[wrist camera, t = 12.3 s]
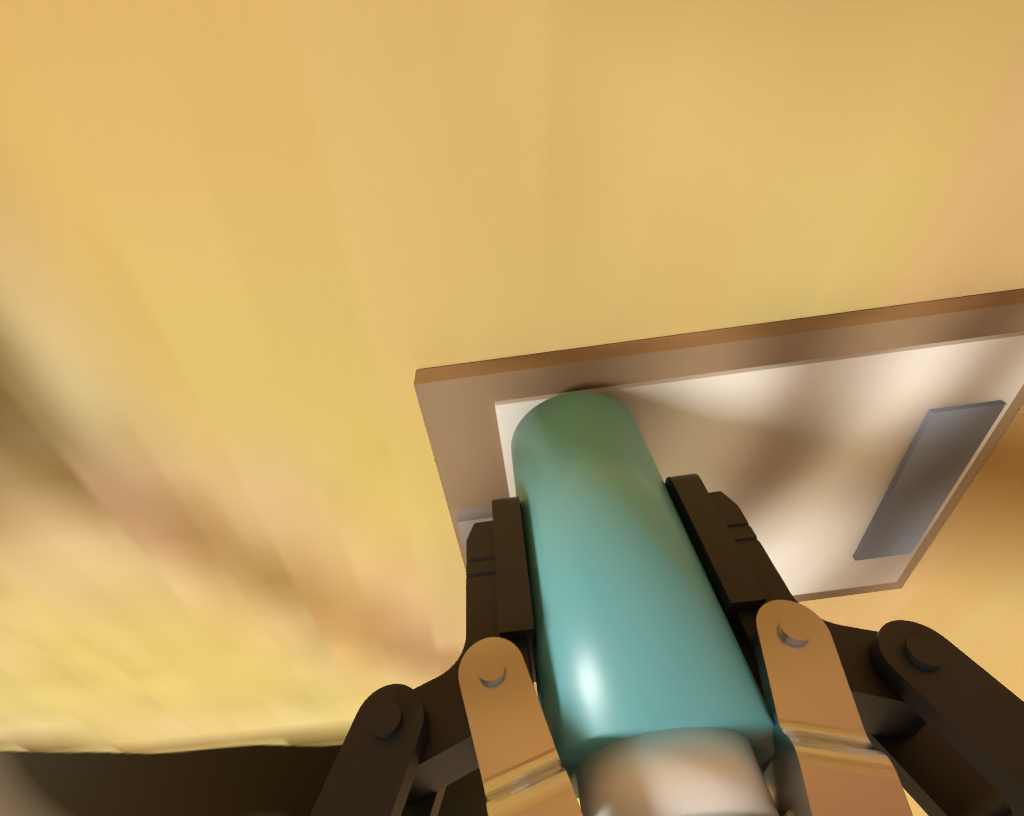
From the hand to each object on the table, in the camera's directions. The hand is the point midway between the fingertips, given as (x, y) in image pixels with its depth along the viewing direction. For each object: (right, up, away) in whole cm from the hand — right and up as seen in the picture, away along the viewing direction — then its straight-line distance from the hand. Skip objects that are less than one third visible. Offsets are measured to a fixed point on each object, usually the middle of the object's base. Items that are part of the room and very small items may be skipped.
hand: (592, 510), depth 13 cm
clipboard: (+6, -1, +6) cm, 9 cm away
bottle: (0, +2, +2) cm, 3 cm away
